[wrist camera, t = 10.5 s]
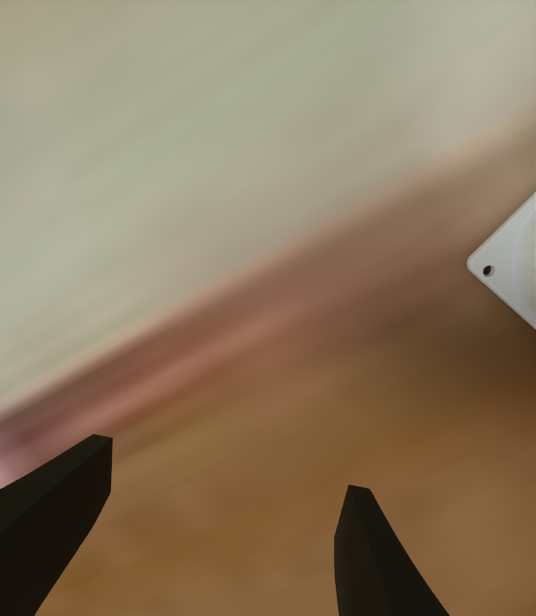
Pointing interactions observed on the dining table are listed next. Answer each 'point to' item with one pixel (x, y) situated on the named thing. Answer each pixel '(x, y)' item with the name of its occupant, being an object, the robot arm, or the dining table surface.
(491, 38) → the dining table surface
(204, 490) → the dining table surface
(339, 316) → the dining table surface
